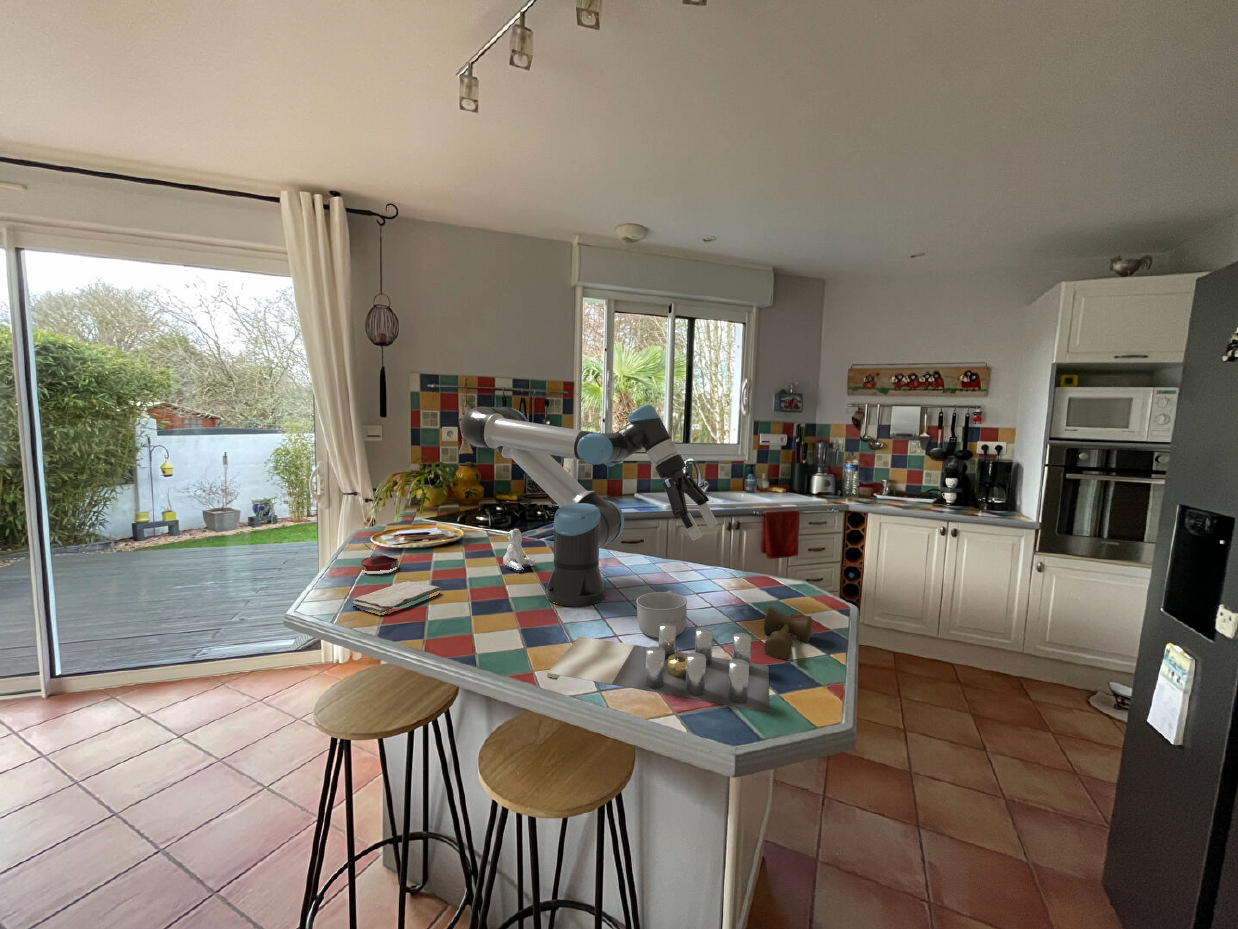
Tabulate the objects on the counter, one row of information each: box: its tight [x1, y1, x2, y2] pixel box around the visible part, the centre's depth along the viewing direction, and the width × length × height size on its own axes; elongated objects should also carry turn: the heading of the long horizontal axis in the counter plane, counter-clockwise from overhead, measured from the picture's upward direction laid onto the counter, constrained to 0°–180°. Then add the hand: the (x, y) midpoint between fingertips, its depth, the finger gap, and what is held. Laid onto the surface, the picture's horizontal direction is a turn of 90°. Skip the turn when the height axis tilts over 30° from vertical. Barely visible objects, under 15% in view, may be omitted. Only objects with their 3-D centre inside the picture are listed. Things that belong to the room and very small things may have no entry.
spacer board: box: [546, 636, 770, 713], centre depth 93 cm, size 38×16×1 cm, turn 74°
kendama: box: [763, 605, 813, 661], centre depth 108 cm, size 6×10×20 cm
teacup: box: [635, 589, 688, 640], centre depth 111 cm, size 14×11×8 cm
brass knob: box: [668, 654, 687, 678], centre depth 92 cm, size 4×4×2 cm
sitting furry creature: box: [502, 528, 536, 570], centre depth 155 cm, size 10×9×12 cm
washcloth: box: [352, 580, 443, 613], centre depth 126 cm, size 12×18×3 cm, turn 155°
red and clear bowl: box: [360, 542, 399, 571], centre depth 150 cm, size 11×10×10 cm
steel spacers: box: [645, 623, 752, 704], centre depth 91 cm, size 17×14×6 cm
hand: (706, 532), depth 131 cm, fingers open, 13 cm apart
